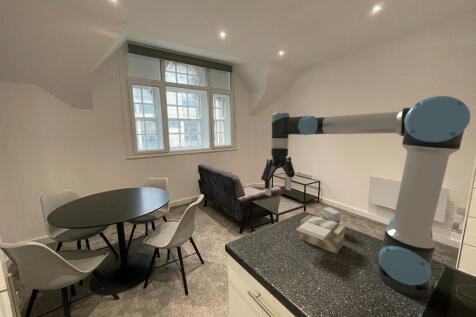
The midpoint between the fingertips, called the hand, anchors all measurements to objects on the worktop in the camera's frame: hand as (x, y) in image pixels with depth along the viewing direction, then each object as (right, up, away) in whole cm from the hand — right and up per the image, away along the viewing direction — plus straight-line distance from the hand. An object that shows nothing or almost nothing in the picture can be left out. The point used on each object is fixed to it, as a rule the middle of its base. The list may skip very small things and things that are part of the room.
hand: (278, 192), depth 92 cm
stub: (+16, -17, -3) cm, 23 cm away
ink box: (+33, -25, +19) cm, 45 cm away
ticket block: (+23, -26, +6) cm, 35 cm away
